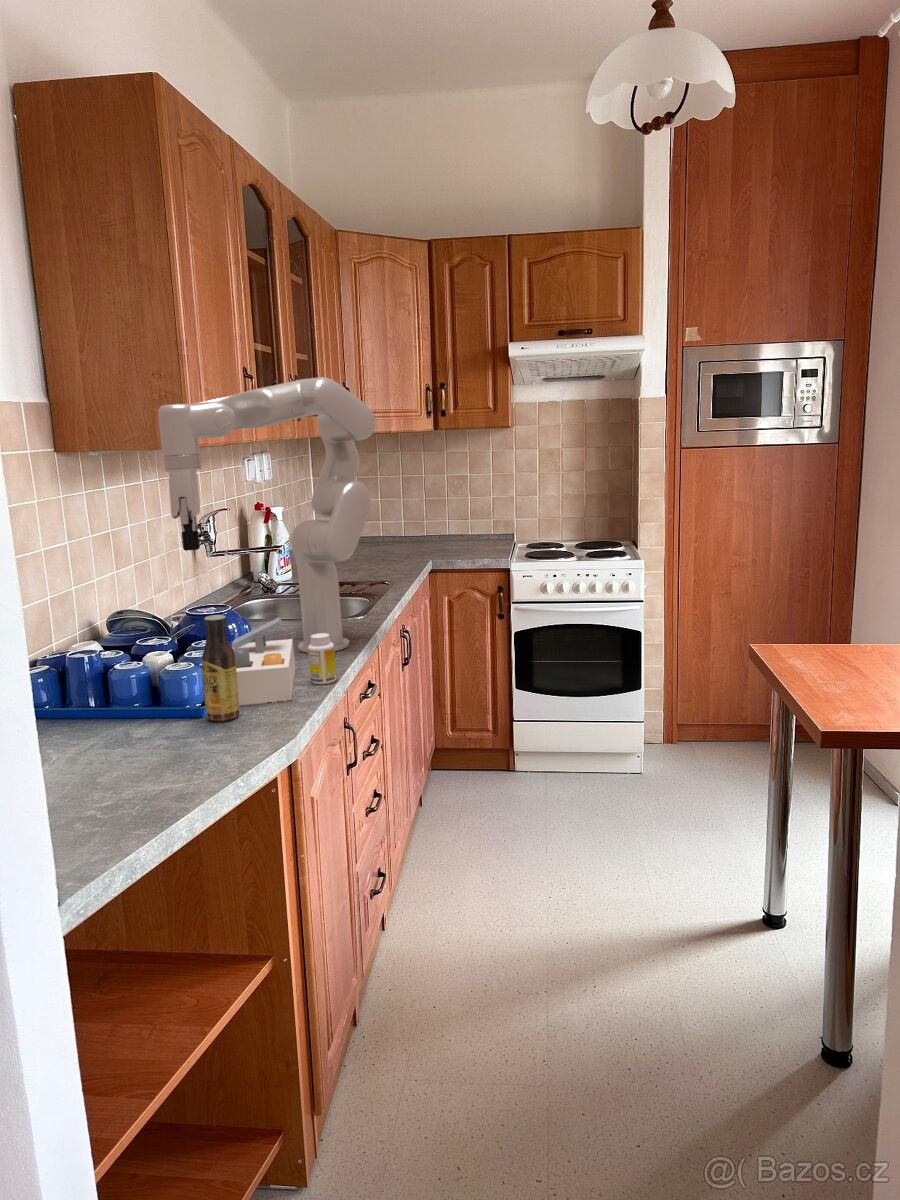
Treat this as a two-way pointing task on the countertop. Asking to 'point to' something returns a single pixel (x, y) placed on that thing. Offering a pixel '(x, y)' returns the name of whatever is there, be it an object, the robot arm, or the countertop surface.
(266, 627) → the rocker
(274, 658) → the button orange
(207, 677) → the sauce bottle
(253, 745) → the countertop surface
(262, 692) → the panel
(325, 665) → the supplement bottle
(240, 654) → the button charcoal
